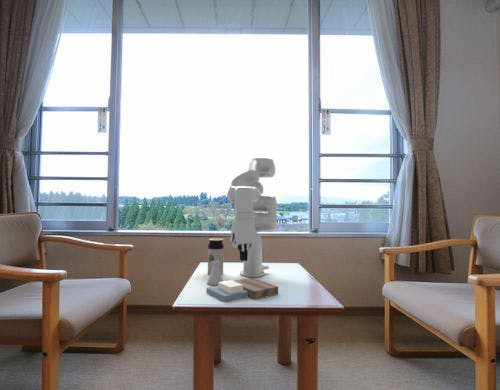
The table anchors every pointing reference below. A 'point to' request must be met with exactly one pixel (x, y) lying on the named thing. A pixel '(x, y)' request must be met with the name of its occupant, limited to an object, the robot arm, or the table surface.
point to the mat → (226, 294)
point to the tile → (230, 286)
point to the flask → (215, 274)
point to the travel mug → (215, 253)
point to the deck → (257, 288)
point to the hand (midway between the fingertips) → (243, 260)
